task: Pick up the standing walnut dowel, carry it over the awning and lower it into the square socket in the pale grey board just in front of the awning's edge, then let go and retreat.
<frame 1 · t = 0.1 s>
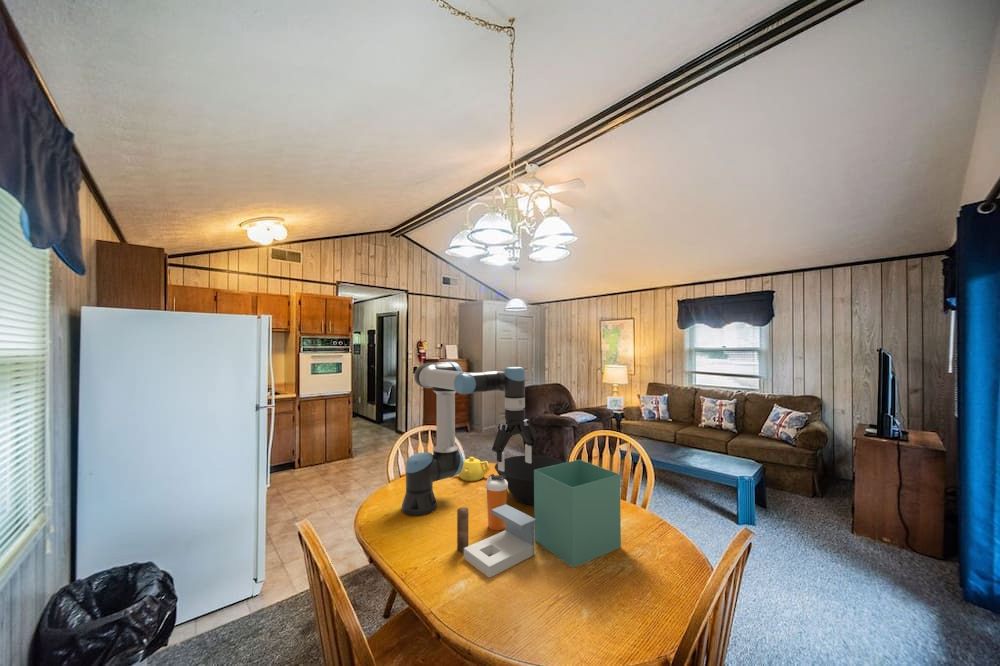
hand: (515, 466, 139), 28 cm above the table, fingers open, 13 cm apart
shaker bottle: (497, 526, 151), on the table
bowl: (532, 498, 178), on the table
peg: (462, 549, 134), on the table
teapot: (471, 479, 204), on the table
socket station: (499, 556, 130), on the table
box: (576, 544, 138), on the table
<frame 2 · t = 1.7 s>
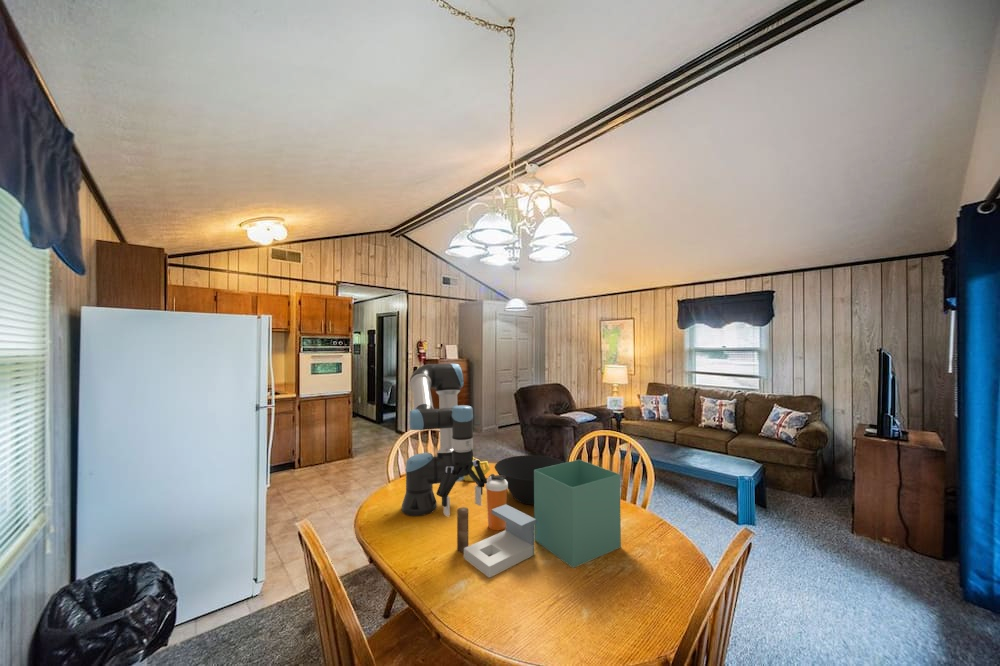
hand: (462, 509, 134), 14 cm above the table, fingers open, 13 cm apart
nothing on the table moved.
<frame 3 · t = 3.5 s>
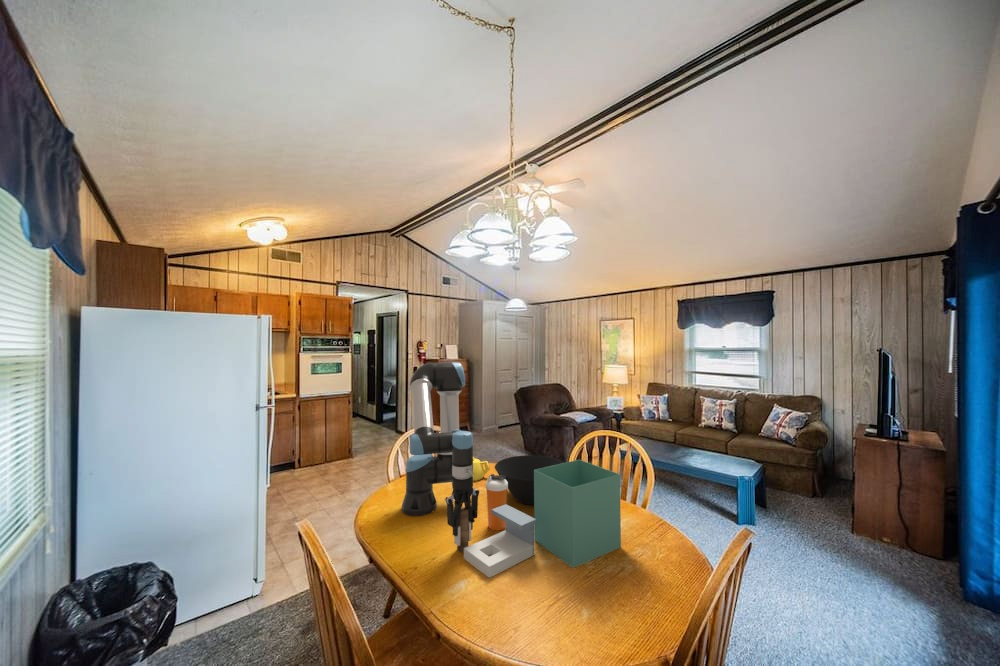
hand: (462, 541, 134), 3 cm above the table, fingers closed on peg, 4 cm apart
peg: (462, 549, 134), on the table, touching gripper
everything else where it was.
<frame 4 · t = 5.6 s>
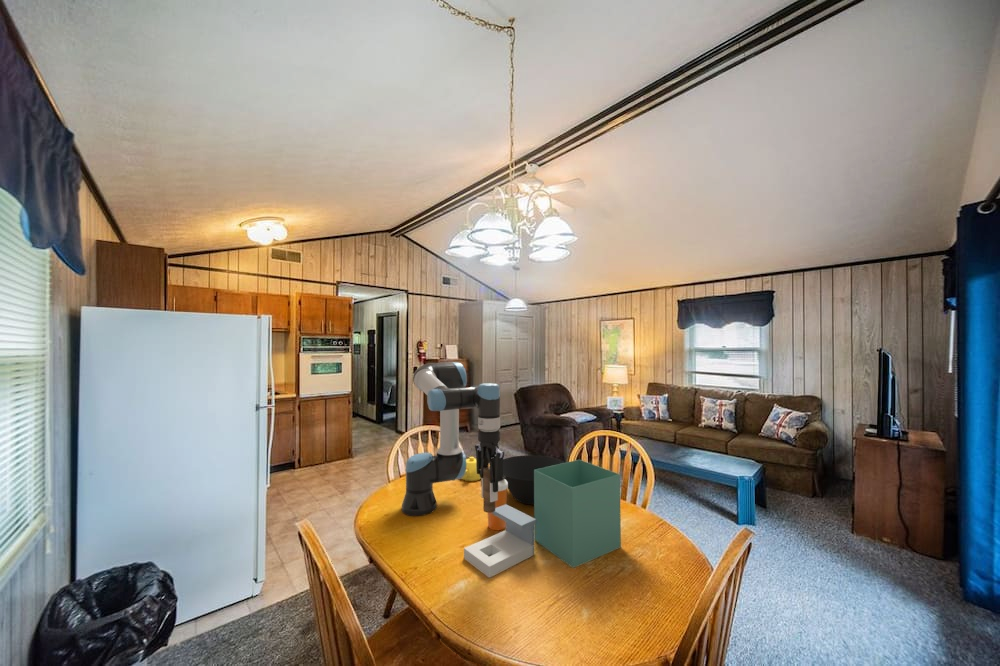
hand: (489, 498, 128), 21 cm above the table, fingers closed on peg, 4 cm apart
peg: (489, 510, 127), point 17 cm above the table, touching gripper
everything else where it was.
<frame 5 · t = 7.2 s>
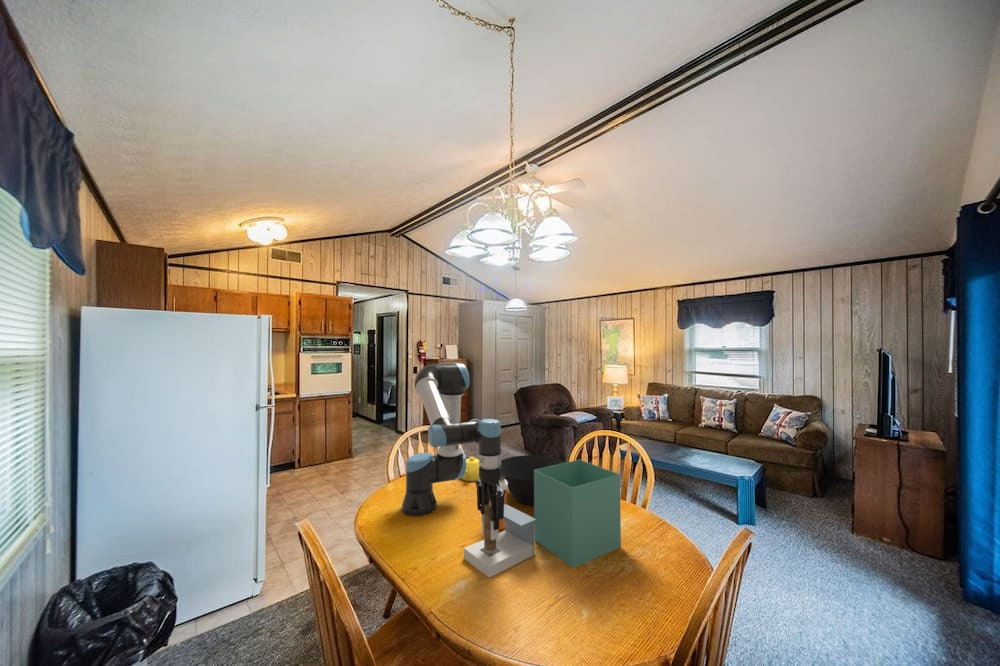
hand: (490, 535, 127), 8 cm above the table, fingers closed on peg, 4 cm apart
peg: (490, 547, 127), point 5 cm above the table, touching gripper
everything else where it was.
when the fingers open (5 cm above the table, at t = 8.2 s): peg stays where it is, resting in socket station.
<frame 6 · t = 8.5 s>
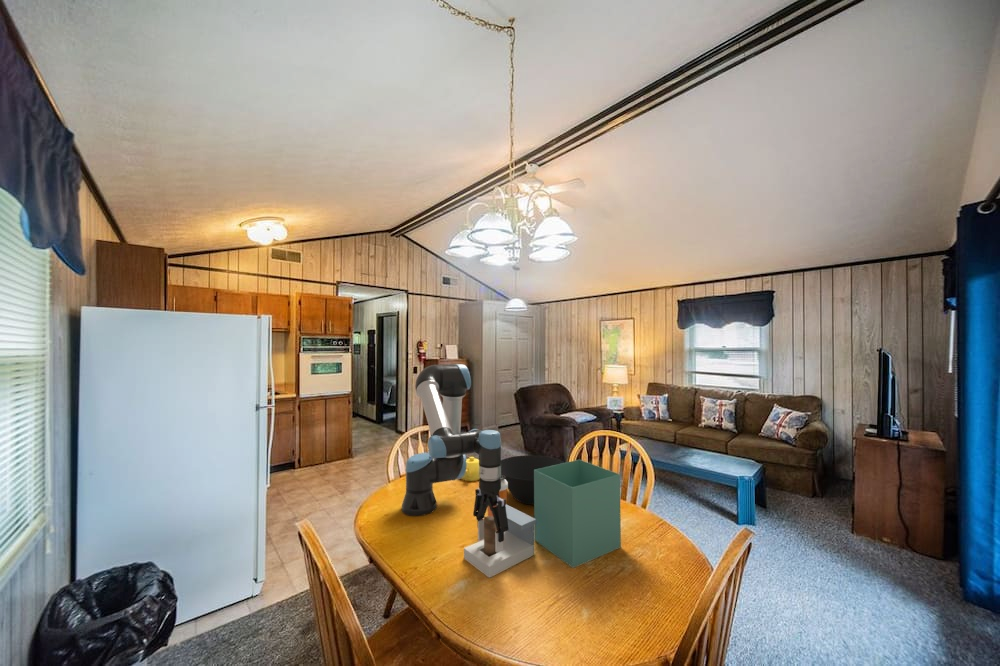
hand: (490, 544, 127), 5 cm above the table, fingers open, 9 cm apart
peg: (490, 560, 127), resting in socket station
everything else where it was.
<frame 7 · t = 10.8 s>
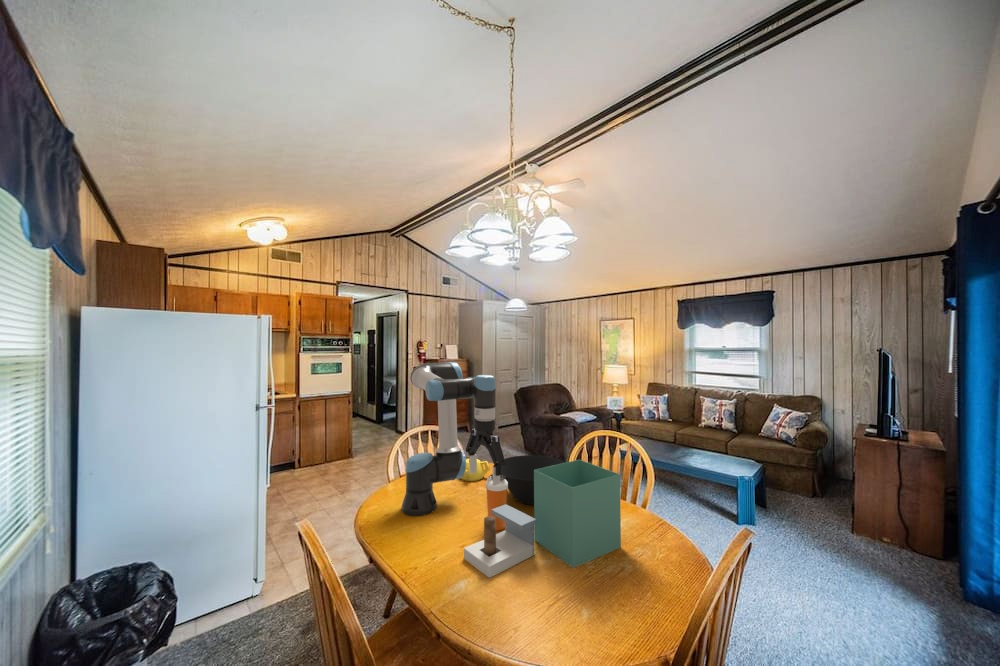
hand: (484, 478, 134), 25 cm above the table, fingers open, 13 cm apart
nothing on the table moved.
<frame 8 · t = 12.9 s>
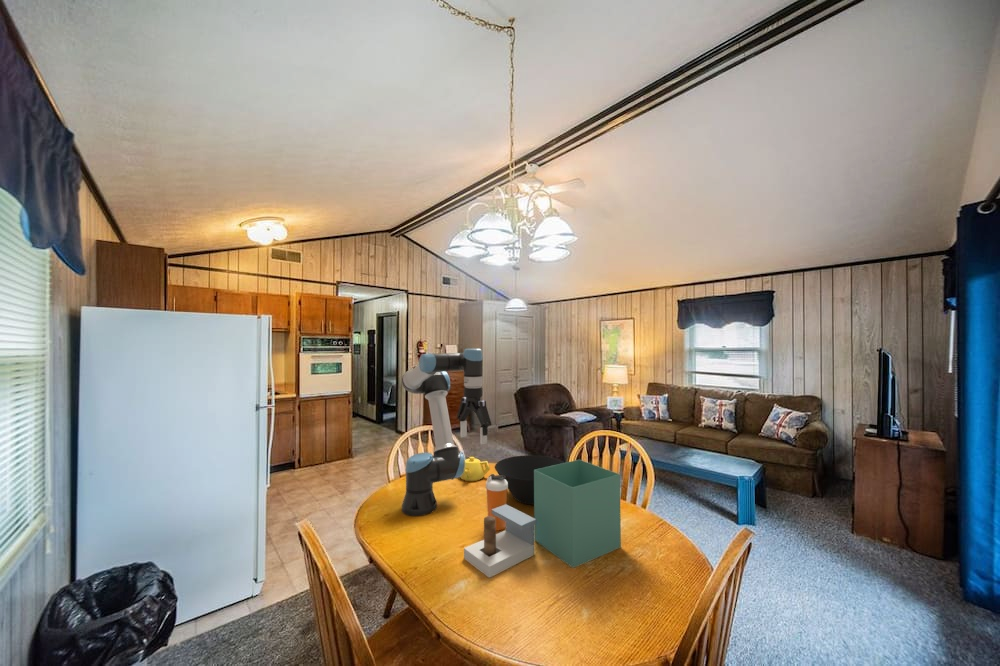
hand: (473, 440, 151), 35 cm above the table, fingers open, 13 cm apart
nothing on the table moved.
at the end: peg 0.1 cm from the target spot on the socket station, point 0.0 cm above the socket station's base; peg tilted 0°; the gripper is holding nothing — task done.
